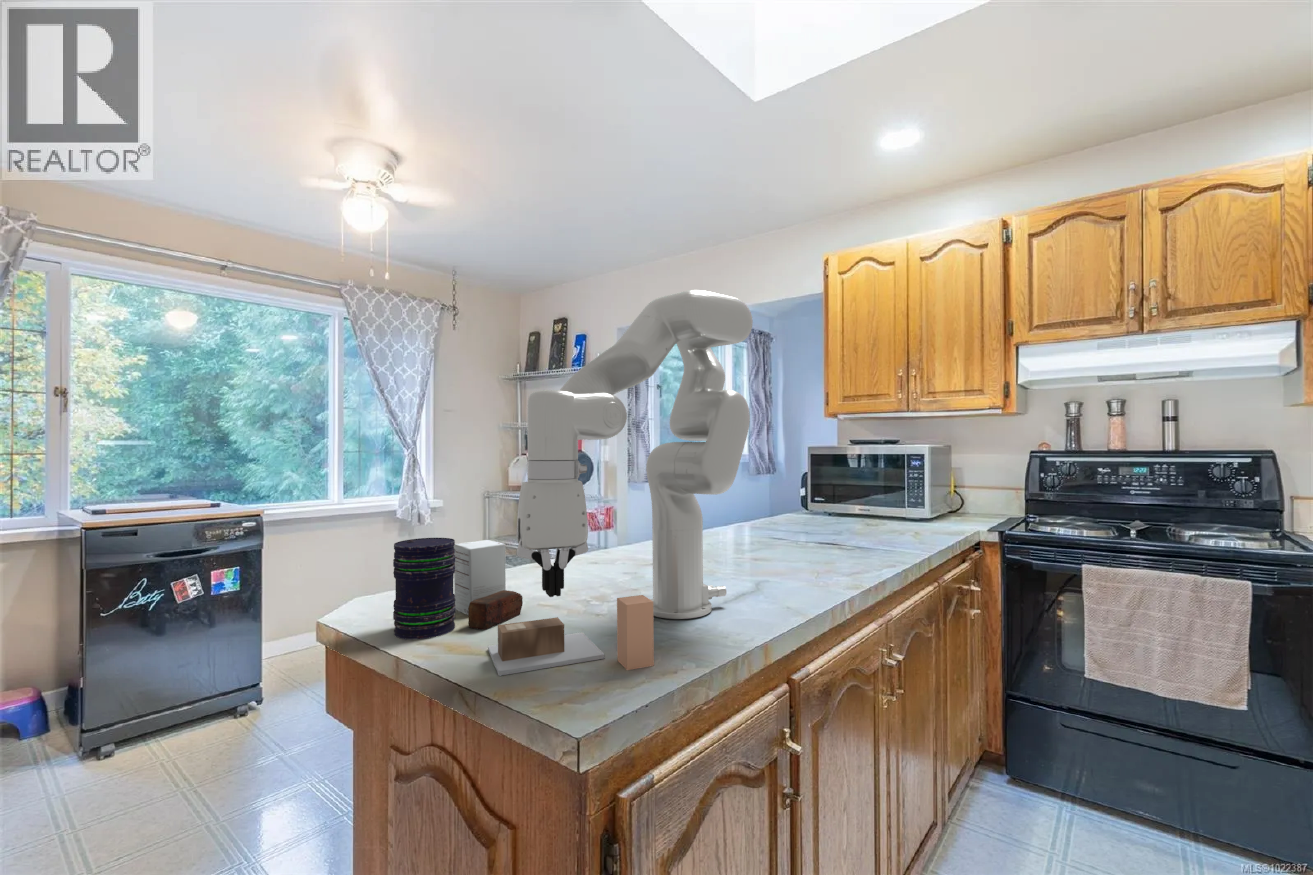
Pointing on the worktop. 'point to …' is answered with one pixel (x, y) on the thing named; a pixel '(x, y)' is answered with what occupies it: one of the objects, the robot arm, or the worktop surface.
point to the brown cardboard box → (530, 638)
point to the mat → (550, 656)
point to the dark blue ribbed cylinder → (424, 588)
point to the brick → (494, 609)
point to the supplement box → (478, 571)
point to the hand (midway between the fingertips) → (553, 594)
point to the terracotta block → (635, 632)
